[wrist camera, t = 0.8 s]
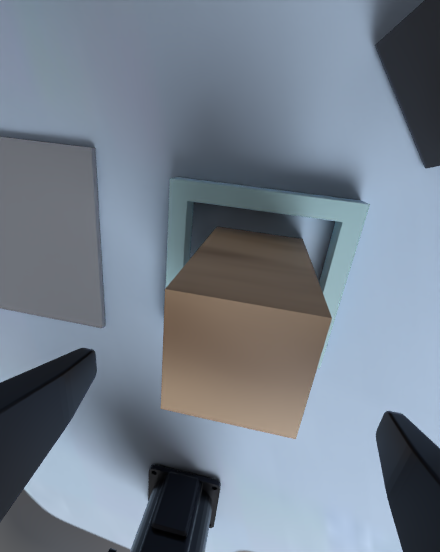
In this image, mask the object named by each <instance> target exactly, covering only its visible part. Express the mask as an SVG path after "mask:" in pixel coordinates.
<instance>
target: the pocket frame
mask: <svg viewBox="0 0 440 552" xmlns="http://www.w3.org/2000/svg"><path fill="white" fill-rule="evenodd" d="M194 202H199V203H207V204H214V205H221V206H228V207H236V208H243V209H250V210H258V211H265V212H272V213H279V214H287V215H294V216H301V217H308V218H316V219H323V220H330V221H335V225H334V229H333V232H332V236H331V240H330V244H329V247H328V251H327V255H326V259H325V262H324V266H323V270H322V274H321V277H320V281H319V284H320V287H321V290H322V292H323V295H324V298H325V300H326V303H327V306H328V309H329V311H330V314H331V317H332V320H331V324H330V327H329V330H328V334H327V337H326V340H325V344H324V347H323V350H322V353H321V357H320V360H319V363H318V367H317V369H320V366H321V363H322V359H323V356H324V353H325V350H326V346H327V343H328V340H329V337H330V333H331V330H332V327H333V323H334V320H335V317H336V314H337V310H338V307H339V304H340V301H341V297H342V294H343V291H344V288H345V284H346V281H347V278H348V274H349V271H350V268H351V265H352V261H353V258H354V255H355V252H356V248H357V245H358V242H359V239H360V235H361V232H362V229H363V225H364V222H365V219H366V216H367V212H368V209H369V206H370V204H368V203H366V202H363V201H361V200H354V199H346V198H338V197H330V196H322V195H315V194H307V193H299V192H291V191H283V190H276V189H268V188H260V187H252V186H244V185H236V184H229V183H221V182H213V181H205V180H197V179H190V178H182V177H176V178H171V179H170V182H169V210H168V237H167V265H166V287H167V286H168V285H169V284H170V282H171V281H172V280H173V279H174V278H175V276H176V275H177V274H178V273H179V272H180V270H181V269H182V268H183V267H184V266H185V264H186V263H187V262H188V261H189V260H190V250H191V236H192V221H193V207H194Z"/></svg>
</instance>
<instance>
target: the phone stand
mask: <svg viewBox="0 0 440 552" xmlns="http://www.w3.org/2000/svg"><path fill="white" fill-rule="evenodd" d="M375 47H376V49H377V52H378V54H379V57H380V59H381V61H382V64H383V66H384V69H385V71H386V74H387V76H388V79H389V81H390V83H391V86H392V88H393V91H394V93H395V96H396V98H397V101H398V103H399V105H400V108H401V110H402V113H403V115H404V118H405V120H406V123H407V125H408V127H409V130H410V132H411V135H412V137H413V140H414V142H415V145H416V147H417V149H418V152H419V154H420V157H421V159H422V162H423V164H424V167H425V168H431V167H436V166H440V0H425V1H424V2H423V3H421V4H420V5H419V6H418V7H417V8H416V9H415V10H414V11H413V12H412V13H410V14H409V15H408V16H407V17H406V18H405V19H404V20H403V21H402V22H400V23H399V24H398V25H397V26H396V27H395V28H394V29H393V30H392V31H390V32H389V33H388V34H387V35H386V36H385V37H384V38H383V39H382V40H380V41H379V42H378V43H377V44H376V45H375Z"/></svg>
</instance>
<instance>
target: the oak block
mask: <svg viewBox="0 0 440 552" xmlns="http://www.w3.org/2000/svg"><path fill="white" fill-rule="evenodd" d="M331 320H332V317H331V314H330V311H329V309H328V306H327V303H326V300H325V298H324V295H323V292H322V290H321V287H320V284H319V282H318V279H317V276H316V274H315V271H314V268H313V265H312V263H311V260H310V257H309V255H308V252H307V249H306V247H305V244H304V241H303V239H299V238H293V237H286V236H279V235H272V234H265V233H258V232H252V231H245V230H238V229H231V228H224V227H216V228H215V230H214V231H213V232H212V233H211V234H210V236H209V237H208V238H207V239H206V240H205V242H204V243H203V244H202V245H201V246H200V248H199V249H198V250H197V251H196V252H195V254H194V255H193V256H192V257H191V258H190V260H189V261H188V262H187V263H186V264H185V266H184V267H183V268H182V269H181V270H180V272H179V273H178V274H177V275H176V276H175V278H174V279H173V280H172V281H171V282H170V284H169V285H168V286H167V287H166V288H165V305H164V333H163V361H162V390H161V409H164V410H169V411H173V412H178V413H182V414H186V415H191V416H195V417H200V418H204V419H209V420H213V421H217V422H222V423H226V424H231V425H235V426H240V427H244V428H248V429H253V430H257V431H262V432H266V433H271V434H275V435H280V436H284V437H288V438H293V439H296V437H297V433H298V430H299V427H300V423H301V420H302V417H303V413H304V410H305V407H306V403H307V400H308V397H309V393H310V390H311V387H312V383H313V380H314V377H315V373H316V370H317V367H318V363H319V360H320V357H321V353H322V350H323V347H324V344H325V340H326V337H327V334H328V330H329V327H330V324H331Z"/></svg>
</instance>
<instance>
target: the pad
mask: <svg viewBox="0 0 440 552" xmlns="http://www.w3.org/2000/svg"><path fill="white" fill-rule="evenodd" d="M0 308H2V309H7V310H12V311H17V312H22V313H27V314H32V315H37V316H42V317H47V318H53V319H58V320H63V321H68V322H73V323H78V324H83V325H88V326H93V327H98V328H103V327H104V326H105V309H104V292H103V275H102V257H101V240H100V223H99V206H98V188H97V171H96V154H95V148H91V147H83V146H74V145H66V144H58V143H49V142H41V141H33V140H24V139H16V138H8V137H0Z"/></svg>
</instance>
